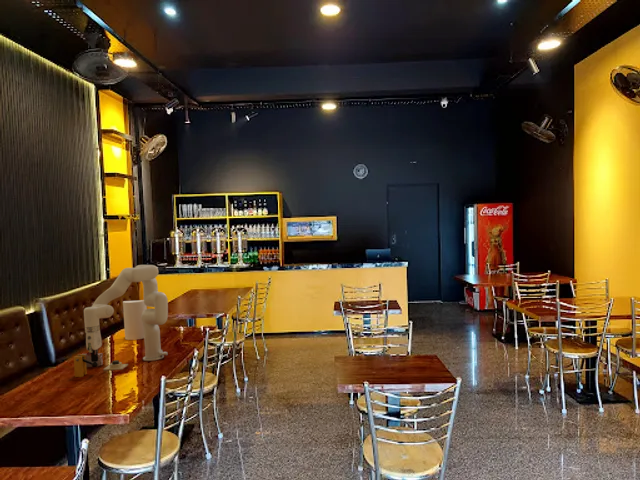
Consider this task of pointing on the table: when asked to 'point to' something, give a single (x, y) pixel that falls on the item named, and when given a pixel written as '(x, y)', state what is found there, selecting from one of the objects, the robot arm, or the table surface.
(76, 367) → the lever bracket
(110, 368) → the control block
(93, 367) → the press lever
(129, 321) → the cylinder
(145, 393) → the table surface
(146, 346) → the robot arm
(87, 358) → the food item
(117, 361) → the stop button
